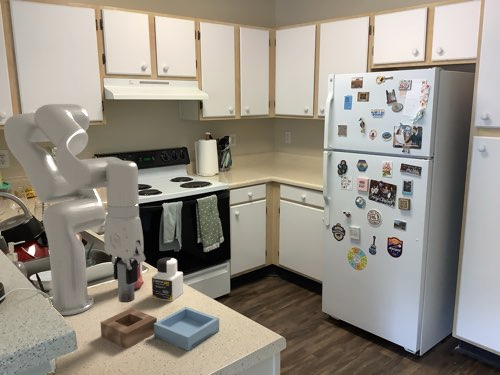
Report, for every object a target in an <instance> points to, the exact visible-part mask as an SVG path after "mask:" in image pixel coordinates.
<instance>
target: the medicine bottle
mask: <svg viewBox="0 0 500 375" xmlns="http://www.w3.org/2000/svg"><path fill="white" fill-rule="evenodd" d="M156 262H157V263H156V265H157V266H156V267H157V273H156V274H154V275H153V276H151V287H152V288H151V289H152V290H151V291H152V294H151V295H152V299H155V300H161V301H166V302H174V301H175V300H176V299H177V298H178V297H180V296H181V295H183V293H184V273H183V271H178V260H177V259H176V258H174V257H163V258H159V259H158V260H157V261H156Z"/></svg>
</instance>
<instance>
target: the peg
mask: <svg viewBox="0 0 500 375" xmlns="http://www.w3.org/2000/svg"><path fill="white" fill-rule="evenodd" d="M132 262H133V261H132V260H131V263H132ZM126 269H128V268H127V261H126V260H121V261H119V262H117V274H118V280H117V292H118V293H117V295H118V302H120V303H122V304H123V303H125V304H126V303H127V304H128V303H131V302H133V301H134V300H135V297H136V296H135V290H134V283H132V284H129V285H128V284H127V283H126Z"/></svg>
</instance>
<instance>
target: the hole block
mask: <svg viewBox="0 0 500 375" xmlns="http://www.w3.org/2000/svg"><path fill="white" fill-rule="evenodd" d="M156 322H158V320H157V317H156V316H153V315H151V314H147V313H145V312H142V311H139V310H137V309H135V308H132V307H131V308H127V309H125V310H123V311H122V312H120V313H119V312H118V313H117V314H115V315H113V316H112V317H109V318H106V319H104V320H103V321H100V335H101V336H100V337H101V338H104V339H106V340H107V341H110V342H112V343H114V344H116V345H118V346H121V347H123V348H125V349H129V348H131V347H132V346H134V345H136V344H138V343H140V342H142V341H144V340H145V339H148V337H151V336H152V335H153V336H154V323H156Z"/></svg>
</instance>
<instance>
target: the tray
mask: <svg viewBox="0 0 500 375" xmlns="http://www.w3.org/2000/svg"><path fill="white" fill-rule="evenodd" d="M218 332H220V318H218V317H216V316H214V315H210V314H208V313H205V312H203V311H202V312H201V311H199V310H196V309H193V308H190V307H187V306H184V307H182V308H181V309H179V310H177V311H175V312H173V313H172V314H169V315H167V316H166V317H164V318H162V319H160V320H157V322H156V323H154V334H153V337H155V338H157V339H160V340H161V341H162V340H163V341H164V342H167V343H169V344H171V345H174V346H176V347H178V348H181V349H183V350H186V351H187V352H189V351H190V350H192V349H194V348H195V347H197V346H198V345H200V344H201V343H203V342H205V341H206V340H208V339H209V338H210V337H212V336H213V335H215V334H216V333H218Z"/></svg>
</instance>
